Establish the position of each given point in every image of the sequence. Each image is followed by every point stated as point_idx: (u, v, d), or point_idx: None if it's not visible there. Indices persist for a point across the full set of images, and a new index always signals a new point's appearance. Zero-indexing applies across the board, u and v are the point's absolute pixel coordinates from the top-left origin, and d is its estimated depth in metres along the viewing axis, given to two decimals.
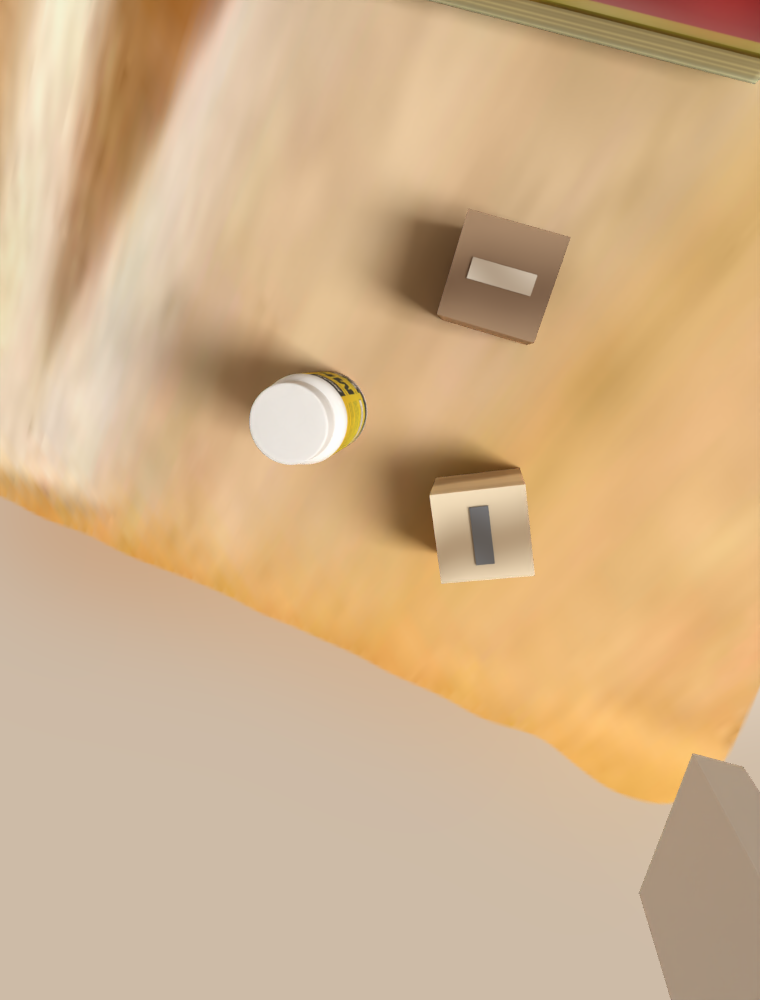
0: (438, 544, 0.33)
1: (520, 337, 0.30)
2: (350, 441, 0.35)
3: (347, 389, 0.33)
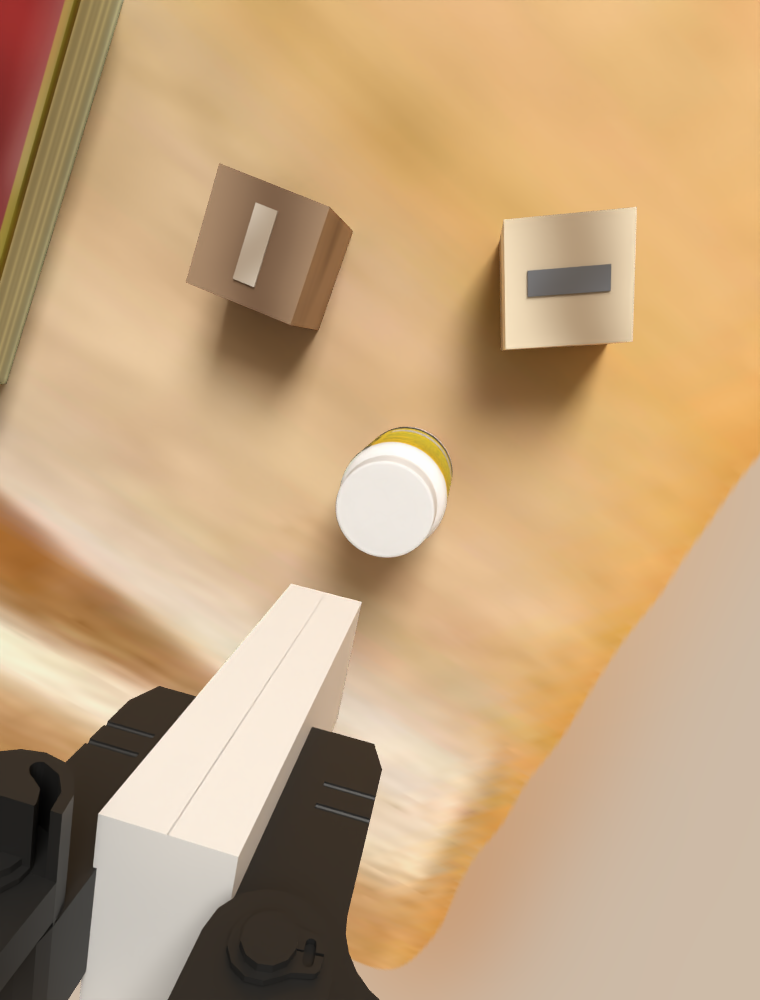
0: (574, 341, 0.25)
1: (322, 223, 0.25)
2: (436, 447, 0.29)
3: (372, 442, 0.28)
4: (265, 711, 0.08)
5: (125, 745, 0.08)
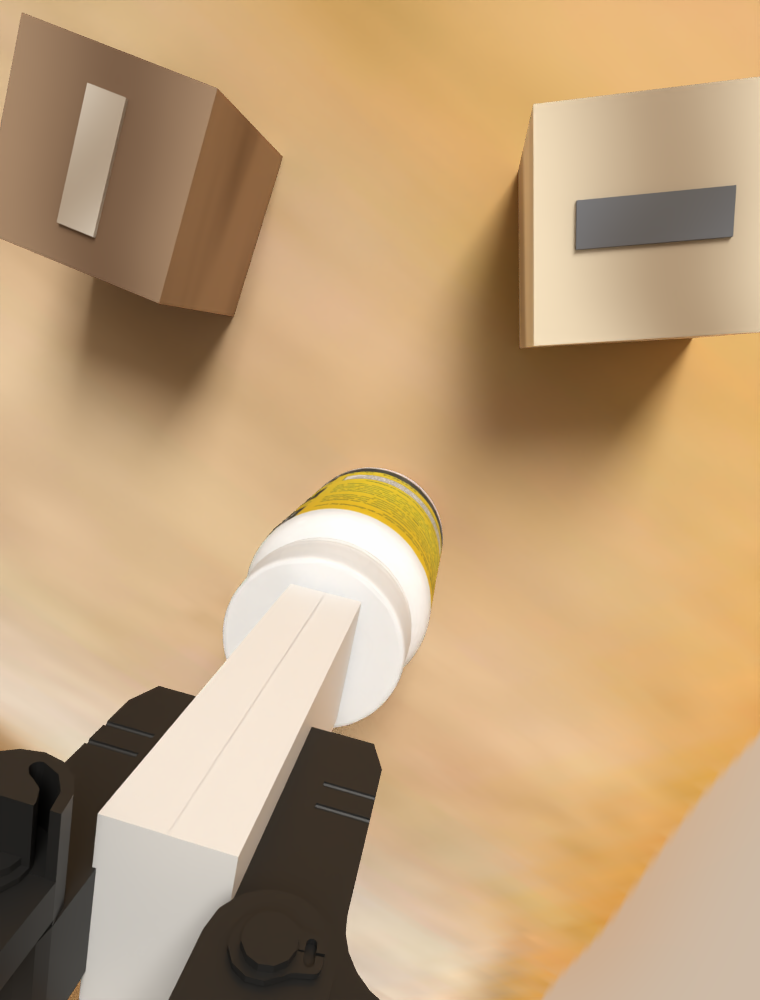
0: (660, 331, 0.14)
1: (205, 119, 0.14)
2: (416, 506, 0.18)
3: (309, 499, 0.17)
4: (265, 711, 0.08)
5: (125, 745, 0.08)
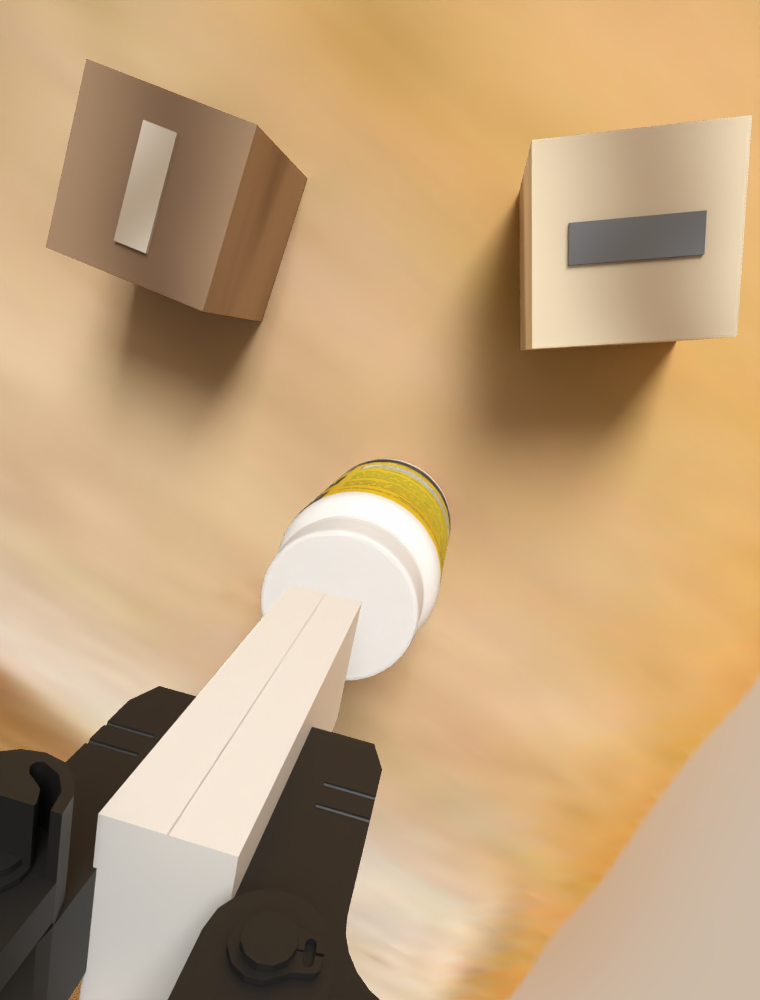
0: (642, 336, 0.16)
1: (246, 152, 0.16)
2: (426, 492, 0.20)
3: (332, 485, 0.19)
4: (265, 711, 0.08)
5: (125, 745, 0.08)
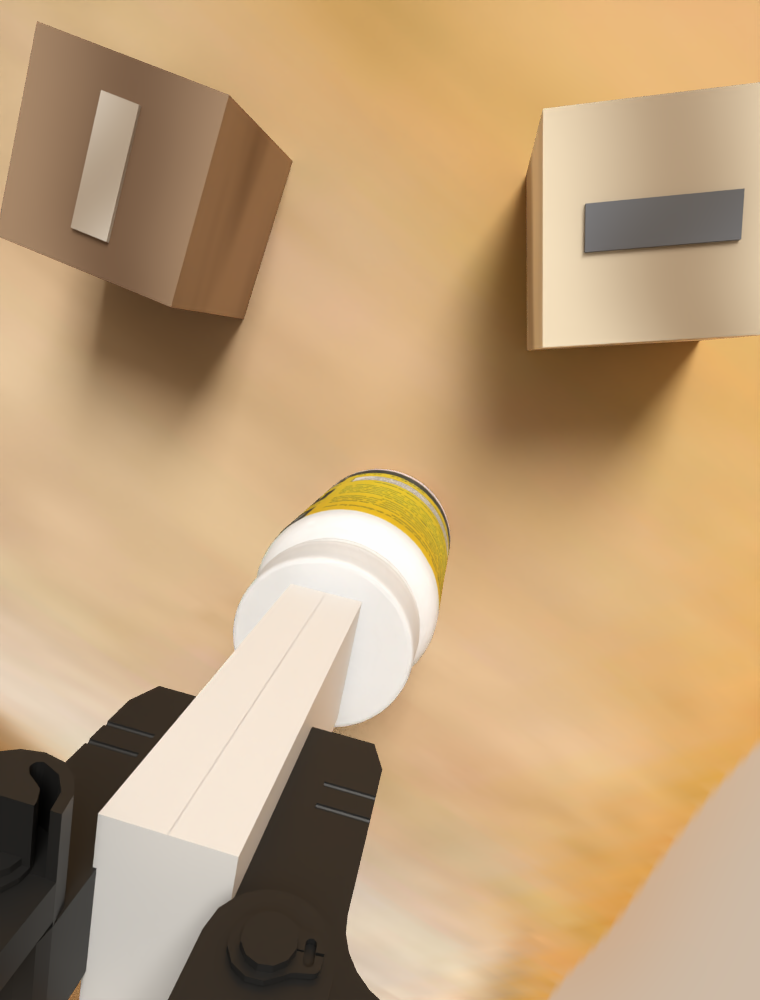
0: (669, 334, 0.14)
1: (217, 126, 0.14)
2: (423, 507, 0.18)
3: (318, 500, 0.17)
4: (265, 712, 0.08)
5: (125, 745, 0.08)
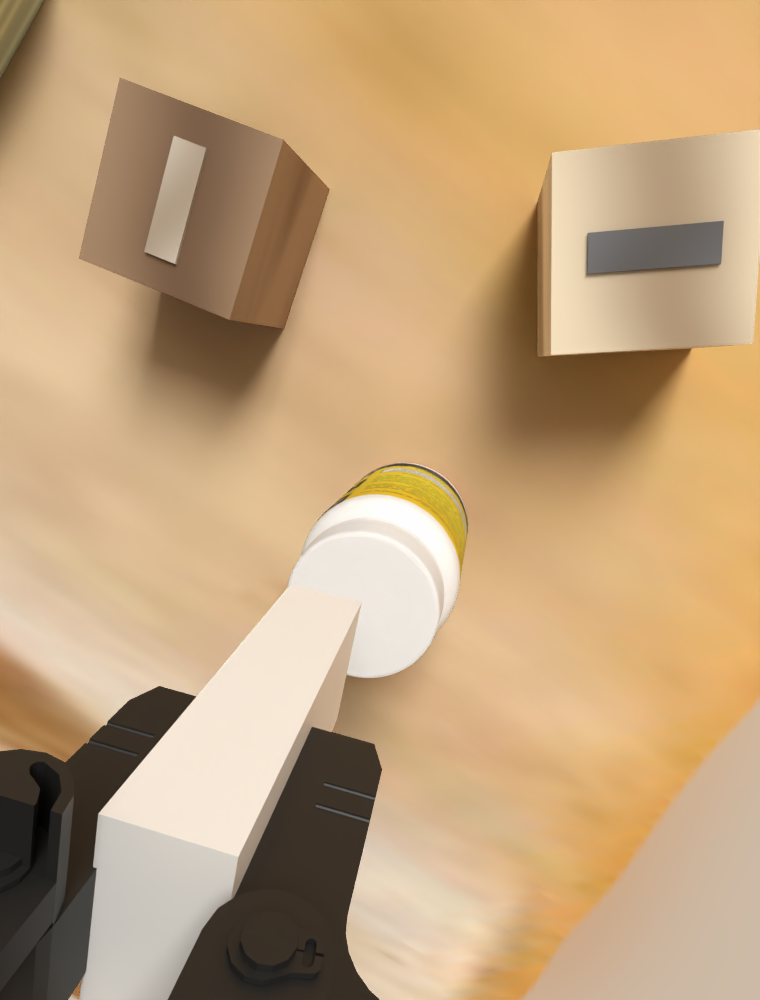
0: (660, 343, 0.16)
1: (272, 166, 0.17)
2: (445, 495, 0.20)
3: (352, 488, 0.20)
4: (265, 711, 0.08)
5: (125, 745, 0.08)
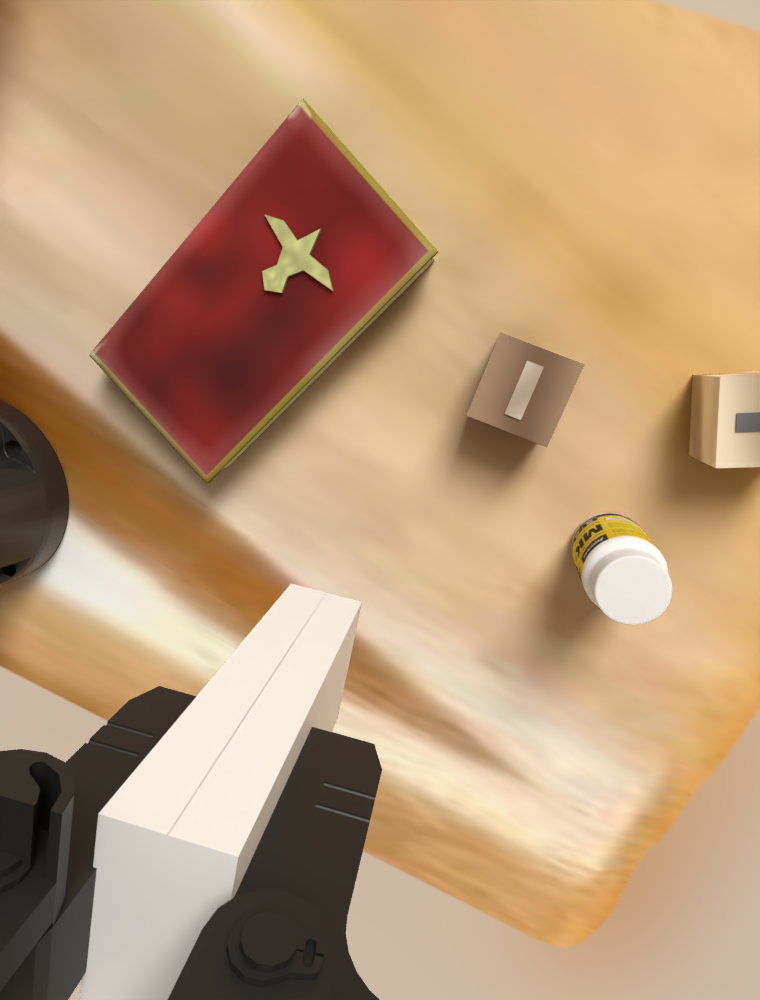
0: None
1: (577, 376, 0.34)
2: None
3: (597, 530, 0.37)
4: (265, 711, 0.08)
5: (125, 745, 0.08)
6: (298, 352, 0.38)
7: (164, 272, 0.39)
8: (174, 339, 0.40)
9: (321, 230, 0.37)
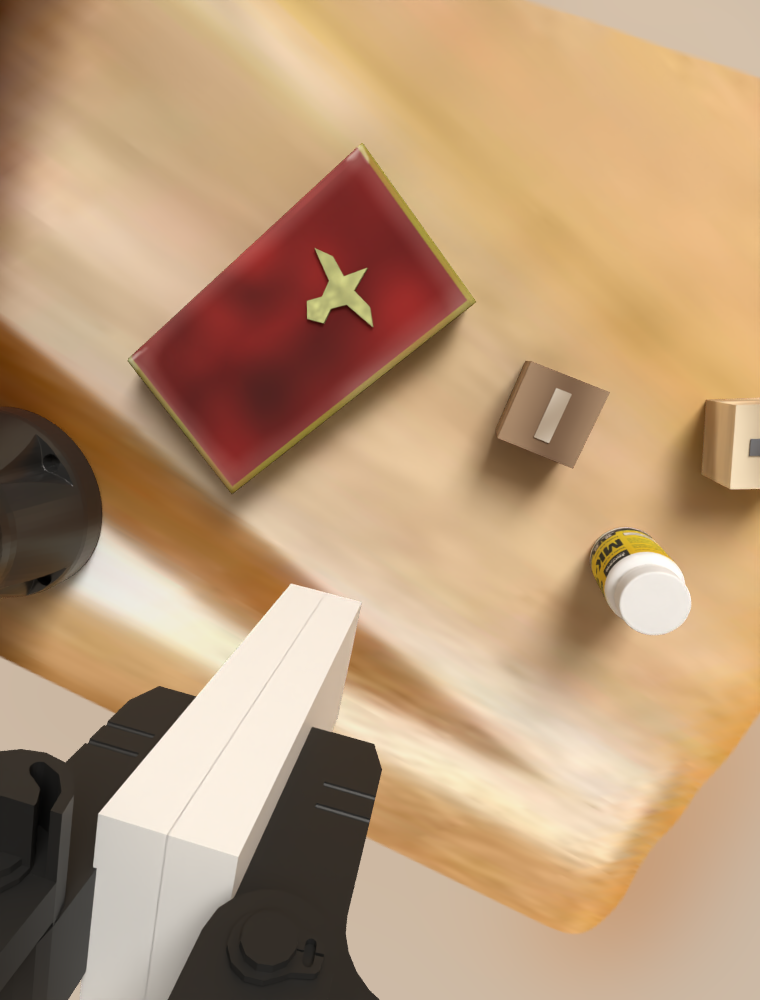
0: None
1: (603, 403, 0.37)
2: (661, 548, 0.40)
3: (617, 545, 0.40)
4: (265, 711, 0.08)
5: (125, 745, 0.08)
6: (334, 380, 0.40)
7: (210, 290, 0.40)
8: (214, 355, 0.41)
9: (367, 269, 0.39)
